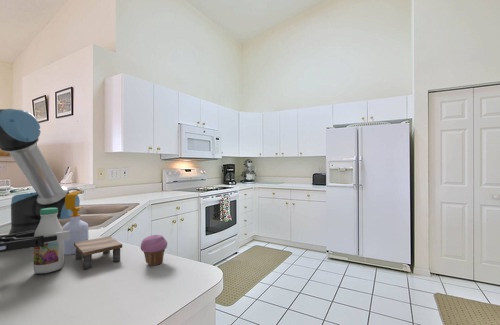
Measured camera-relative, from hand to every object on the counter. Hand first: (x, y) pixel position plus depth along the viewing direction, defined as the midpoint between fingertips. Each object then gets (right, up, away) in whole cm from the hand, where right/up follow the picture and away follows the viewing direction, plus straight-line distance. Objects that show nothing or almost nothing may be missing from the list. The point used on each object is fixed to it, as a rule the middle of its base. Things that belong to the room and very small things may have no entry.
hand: (67, 232), depth 85 cm
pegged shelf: (+7, -12, +6) cm, 15 cm away
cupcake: (+29, -12, +2) cm, 32 cm away
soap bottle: (-9, -12, +16) cm, 22 cm away
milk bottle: (-3, -11, -4) cm, 12 cm away
